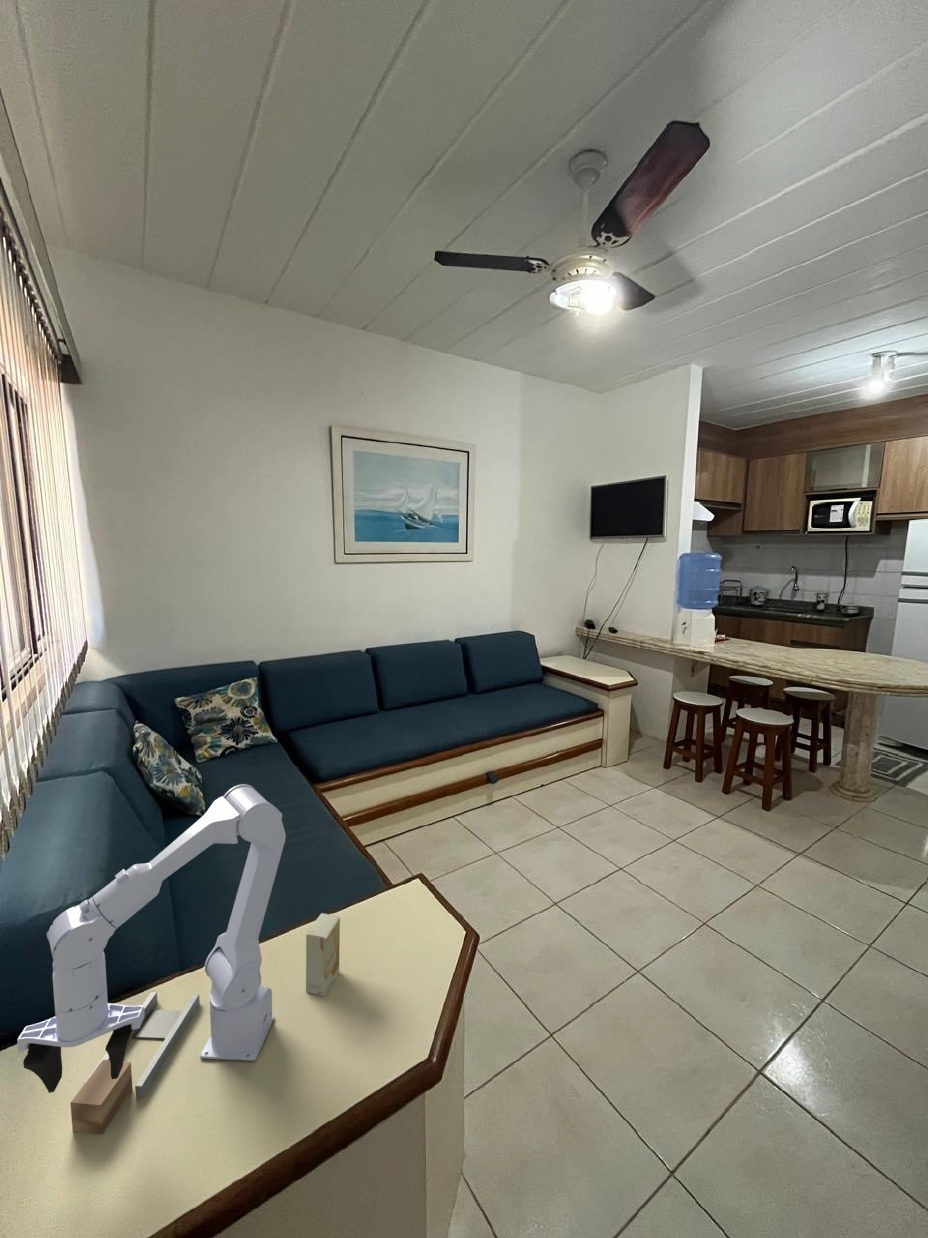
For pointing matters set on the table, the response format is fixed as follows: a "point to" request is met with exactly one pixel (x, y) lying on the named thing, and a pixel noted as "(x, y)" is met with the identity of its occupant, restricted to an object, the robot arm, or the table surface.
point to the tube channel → (159, 1035)
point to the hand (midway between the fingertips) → (86, 1078)
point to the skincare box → (322, 954)
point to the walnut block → (100, 1098)
